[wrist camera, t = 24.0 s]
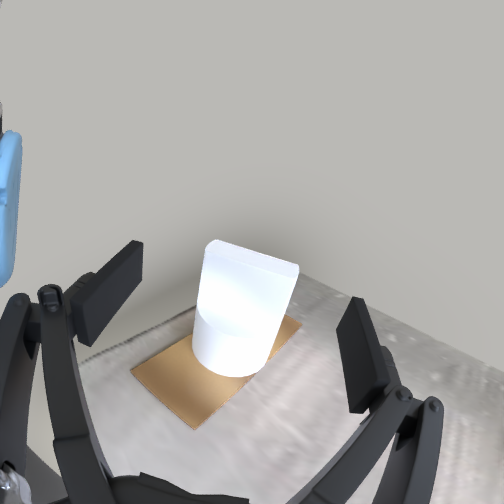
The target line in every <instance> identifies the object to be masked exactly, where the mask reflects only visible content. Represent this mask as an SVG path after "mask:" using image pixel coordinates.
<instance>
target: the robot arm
mask: <svg viewBox="0 0 504 504" xmlns="http://www.w3.org/2000/svg"><path fill="white" fill-rule="evenodd" d="M1 3H2V0H0V6H1ZM21 164H22V137H21V135H20V134H19V133H17V132H13V131H12V130H8V131H6V133H5V134H3V133H2V104H1V102H0V288H1V287H2V286H3V285H4V284H5V283H7V281H8V280H9V278H10V277H11V275H12V272H13V267H14V261H15V251H16V234H17V218H18V203H19V190H20V177H21ZM142 263H143V243H142V242H139V241H134V240H132V241H131V242H130V243H129V244H128V245H126V246H125V247H124V248H123V249H122V250H121V251H120V252H119V253H117V254H116V255H115V256H114V257H113V258H112V259H111V260H110V261H109V262H107V263H106V264H105V265H104V266H103V267H102V268H101V269H100V270H99V271H98V272H97V273H96V274H95V273H92V272H89V273H86V274H84V275H83V276H81V277H80V278H79V279H78V280H77V281H76V282H75V283H74V284H73V285H71V287H69V289H67V290H66V291H65V292H64V293H62V289H61V288H60V287H59V286H58V285H55V284H48V285H45V286H43V287H41V288H40V289H39V290H38V293H37V295H38V300H39V304H37V303H31V301H30V298H29V296H28V295H27V294H25V293H17V294H15V295H13V296H12V297H11V298H10V299H9V301H8V303H7V305H6V307H5V310H4V312H3V314H2V317H1V319H0V504H32V502H31V499H30V497H31V491H30V487H29V484H28V482H27V481H26V480H25V478H24V475H25V468H26V443H27V442H26V441H27V424H28V414H29V404H30V396H31V389H32V382H33V376H34V370H35V365H36V360H37V355H38V351H39V346H40V343H41V345H42V346H41V347H42V361H43V372H44V380H45V388H46V395H47V401H48V407H49V413H50V418H51V423H52V428H53V432H54V437H55V439H54V440H53V447H54V452H55V456H56V459H57V463H58V466H59V469H60V472H61V476H62V479H63V482H64V485H65V487H66V490H67V493H68V497H66V498H63V499H60V500H58V501H55V502H52V503H49V504H249V499H246V498H240V497H233V496H228V495H196V494H191V493H189V492H187V491H185V490H183V489H181V488H179V487H177V486H175V485H174V484H172V483H170V482H168V481H166V480H163V479H160V478H157V477H154V476H151V475H148V474H145V473H142V472H140V475H139V476H133V475H126V476H118V477H113V474H112V472H111V470H110V468H109V466H108V464H107V462H106V459H105V457H104V455H103V452H102V449H101V447H100V444H99V441H98V438H97V435H96V432H95V429H94V426H93V423H92V420H91V416H90V413H89V409H88V406H87V402H86V398H85V395H84V391H83V387H82V382H81V378H80V373H79V369H78V364H77V359H76V353H75V348H74V342H73V338H74V336H75V335H76V334H77V338H78V342H80V343H82V344H84V345H86V346H89V347H91V346H92V345H93V343H94V342H95V341H96V339H97V338H98V336H99V335H100V334H101V332H102V331H103V330H104V328H105V327H106V326H107V324H108V323H109V321H110V320H111V319H112V317H113V316H114V315H115V314H116V312H117V311H118V310H119V309H120V307H121V306H122V304H123V303H124V302H125V301H126V299H127V298H128V297H129V296H130V295H131V293H132V292H133V291H134V289H135V288H136V287H137V286H138V284H139V283H140V282H141V281H142ZM336 332H337V338H338V343H339V349H340V354H341V360H342V366H343V372H344V378H345V384H346V391H347V397H348V404H349V412H350V413H357V414H363V413H364V412H365V411H366V410H367V409H368V408H369V412H370V414H369V415H368V416H367V417H366V418H365V419H364V420H363V421H362V422H361V423H360V426H359V427H358V429H357V430H356V431H355V432H354V434H353V435H352V436H351V437H350V438H349V440H348V441H347V442H346V443H345V444H344V445H343V447H342V448H341V449H340V450H339V451H338V452H337V453H336V455H335V456H334V457H333V458H332V459H331V460H330V461H329V462H328V463H327V464H326V465H325V466H324V467H323V469H322V470H321V471H320V472H319V473H318V474H317V475H316V476H315V477H314V478H313V479H312V480H311V481H310V482H309V483H308V484H307V485H305V486H304V487H303V488H302V489H301V490H300V491H299V492H298V493H297V494H296V495H295V496H294V497H292V498H291V499H290V500H289V501H288V502H287V503H286V504H345V503H346V502H347V500H348V499H349V498H350V497H351V496H352V494H353V493H354V492H355V491H356V489H357V488H358V487H359V485H360V484H361V483H362V482H363V480H364V479H365V478H366V476H367V475H368V473H369V472H370V471H371V469H372V468H373V467H374V465H375V464H376V462H377V461H378V459H379V458H380V456H381V455H382V453H383V452H384V450H385V449H386V447H387V446H388V444H389V442H390V441H391V439H392V438H393V436H394V434H395V433H396V434H395V438H394V442H393V445H392V449H391V452H390V455H389V458H388V462H387V465H386V468H385V471H384V474H383V476H382V479H381V482H380V485H379V487H378V490H377V492H376V495H375V497H374V500H373V502H372V504H429V502H430V498H431V494H432V490H433V486H434V481H435V476H436V471H437V465H438V459H439V453H440V446H441V438H442V429H443V417H444V406H443V404H442V402H441V401H440V400H439V399H438V398H436V397H433V396H431V397H428V398H427V399H426V400H425V401H421V400H418V399H415V398H413V395H412V393H411V391H410V390H409V389H408V388H406V387H404V386H402V384H401V381H400V378H399V375H398V372H397V369H396V367H395V363H394V362H393V357H392V354H391V352H390V351H389V350H388V349H387V347H386V346H380V344H379V341H378V338H377V335H376V332H375V329H374V326H373V323H372V321H371V318H370V315H369V312H368V310H367V307H366V304H365V302H364V299H362V298H358V297H352V299H351V301H350V303H349V305H348V307H347V309H346V311H345V313H344V315H343V317H342V319H341V321H340V323H339V325H338V327H337V329H336Z"/></svg>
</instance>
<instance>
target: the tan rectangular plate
mask: <svg viewBox="0 0 504 504" xmlns="http://www.w3.org/2000/svg"><path fill="white" fill-rule="evenodd" d="M301 326H302V324H301V323H299V322H298V321H296V320H294V319H292V318H290V317H289V316H287V315H285V314H284V317H283V319H282V322H281V325H280V327H279V330H278V333H277V335H276V338H275V340H274V343H273V346H272V348H271V351H270V353H269V356H268V359H267V361H266V363H267V362H268V361H269V360H270V359H271V358H272V357H273V356H274V355H275V354H276V353H277V352H278V351H279V349H280V348H281V347H282V346H283V345H284V344H285V343H286V342H287V341H288V340H289V339H290V338H291V337H292V336H293V335H294V333H295V332H296V331H297V330H298V329H299V328H300V327H301ZM192 337H193V333H191V334H189V335H188V336H186V337H185V338H183V339H182V340H180V341H178V342H177V343H175V344H174V345H172V346H170V347H169V348H167V349H165V350H164V351H162V352H161V353H159V354H157V355H156V356H154V357H152V358H151V359H149V360H147V361H146V362H144V363H142V364H141V365H139V366H137V367H136V368H134V369H132V370H131V373H132V374H133V375H134V376H135V377H136V378H137V379H138V380H139V381H140V382H141V383H142V384H143V385H144V386H145V387H146V388H147V389H148V390H149V391H150V392H151V393H152V394H153V395H154V396H155V397H157V398H158V399H159V400H160V401H161V402H162V403H163V404H164V405H165V406H166V407H168V408H169V409H170V410H171V411H172V412H173V413H174V414H176V415H177V416H178V417H179V418H180V419H182V420H183V421H184V422H185V423H186V424H188V425H189V426H190V427H191V428H193V429H194V430H196V429H197V428H198V427H199V426H200V425H201V424H202V423H204V422H205V421H206V420H207V419H208V418H209V417H210V416H212V415H213V414H214V413H215V412H216V411H217V410H218V409H219V408H220V407H221V406H223V405H224V404H225V403H226V402H227V401H228V400H229V399H230V398H231V397H232V396H233V395H234V394H235V393H236V392H237V391H239V390H240V389H241V388H242V387H243V386H244V385H245V384H246V383H247V382H248V381H249V380H250V379H251V378H252V377H253V376H254V375H255V374H256V373H257V372H256V373H253V374H251V375H249V376H243V377H228V376H224V375H220V374H217V373H215V372H213V371H211V370H209V369H207V368H206V367H205V366H203V365H202V364H201V363H200V362H199V361H198V359H197V358H196V357H195V355H194V352H193V349H192ZM266 363H265V364H266Z"/></svg>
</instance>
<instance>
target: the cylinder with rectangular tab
mask: <svg viewBox="0 0 504 504" xmlns="http://www.w3.org/2000/svg"><path fill="white" fill-rule="evenodd" d="M298 274H299V266H298V265H297V264H294V263H290V262H287V261H284V260H281V259H278V258H274V257H271V256H268V255H265V254H261V253H259V252H255V251H252V250H249V249H245V248H243V247H239V246H236V245H233V244H230V243H227V242H224V241H220V240H217V239H216V240H214V241H212V242H211V243H209V244H208V245H207V247H206V248H205V254H204V260H203V266H202V273H201V279H200V286H199V293H198V300H197V307H196V314H195V322H194V329H193V337H192V349H193V352H194V355H195V357H196V358H197V359H198V361H199V362H200V363H201V364H202V365H203V366H205V367H206V368H207V369H209V370H211V371H213V372H215V373H217V374H220V375H224V376H228V377H243V376H249V375H251V374H253V373H256V372H258V371H259V370H260V369H261V368H262V367H263V366H264V365H265V363H266V361H267V359H268V356H269V353H270V351H271V348H272V346H273V343H274V340H275V338H276V335H277V333H278V330H279V327H280V325H281V322H282V319H283V317H284V314H285V311H286V308H287V306H288V303H289V300H290V297H291V294H292V292H293V289H294V286H295V283H296V280H297V277H298Z"/></svg>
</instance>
